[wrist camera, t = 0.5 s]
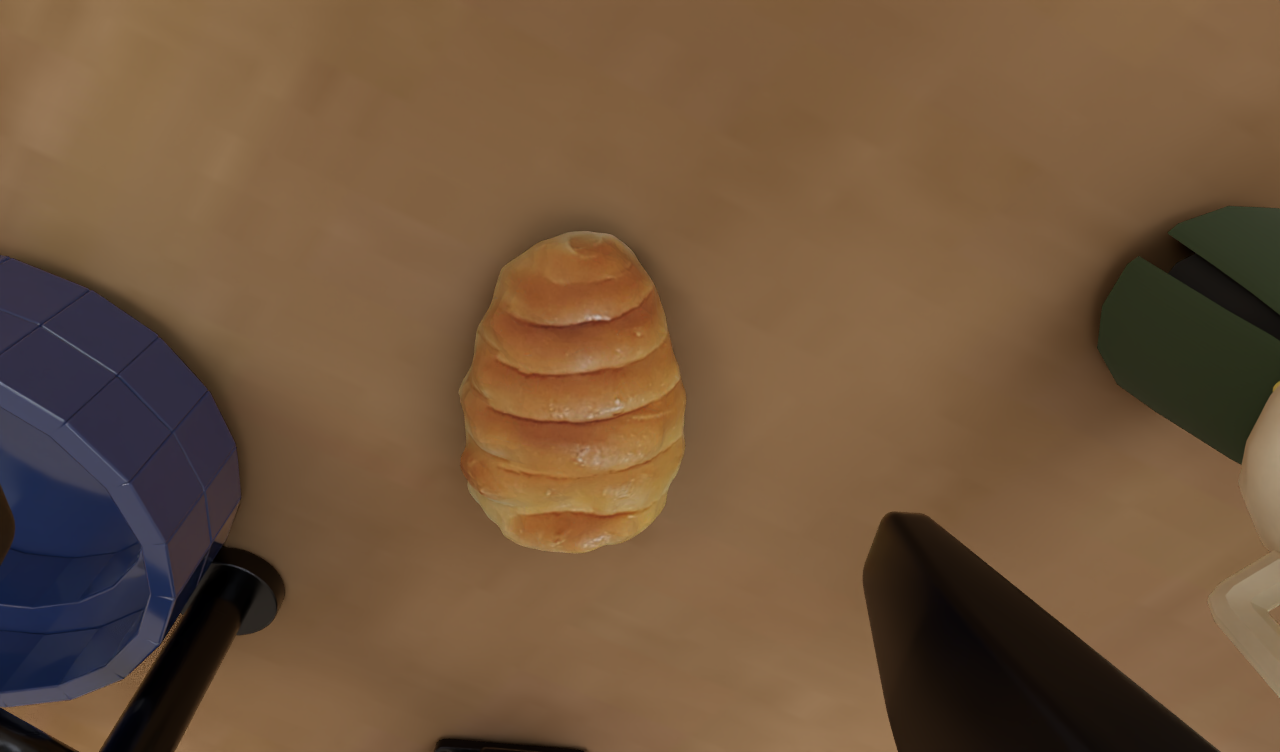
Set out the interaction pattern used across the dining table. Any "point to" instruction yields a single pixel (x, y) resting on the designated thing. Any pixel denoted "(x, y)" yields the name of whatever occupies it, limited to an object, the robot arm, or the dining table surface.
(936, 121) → the dining table surface
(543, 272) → the pastry
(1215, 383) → the character mug
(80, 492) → the basin
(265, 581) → the tap
